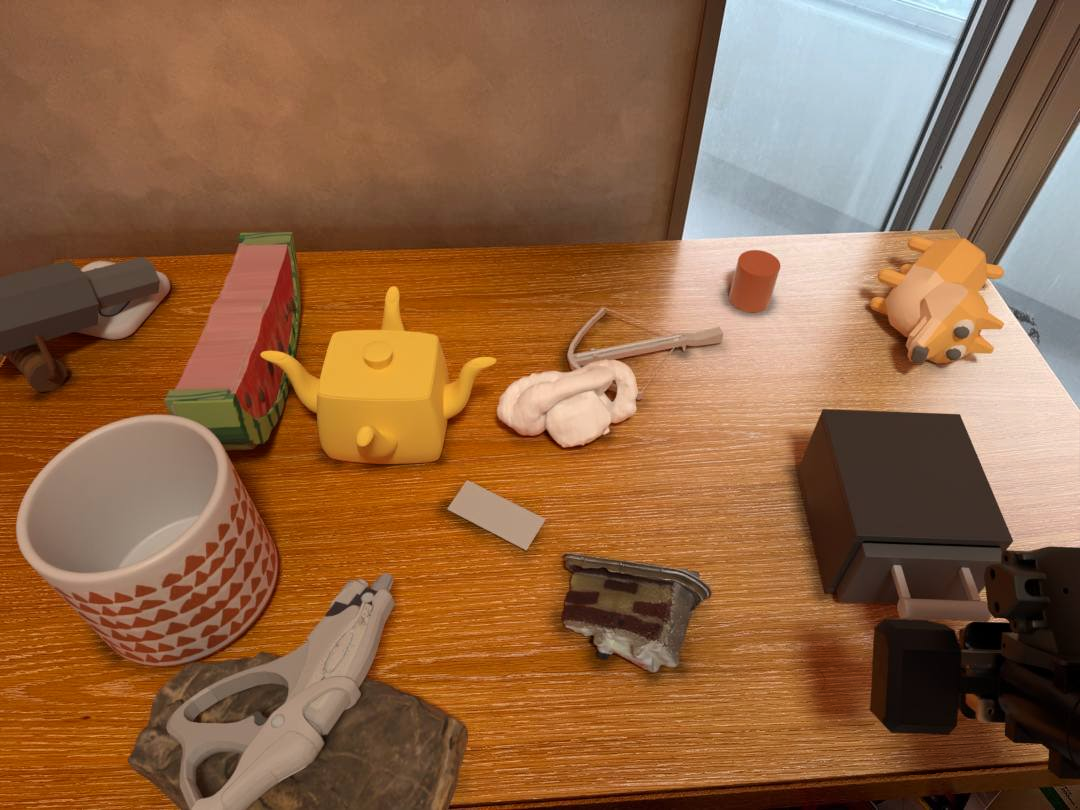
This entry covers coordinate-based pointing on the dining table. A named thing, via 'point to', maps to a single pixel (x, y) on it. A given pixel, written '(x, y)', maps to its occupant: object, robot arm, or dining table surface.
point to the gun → (309, 711)
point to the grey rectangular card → (496, 514)
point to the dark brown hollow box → (894, 486)
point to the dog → (940, 300)
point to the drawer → (921, 579)
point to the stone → (341, 765)
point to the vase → (150, 539)
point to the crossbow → (637, 346)
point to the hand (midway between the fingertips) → (964, 636)
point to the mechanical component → (62, 309)
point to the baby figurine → (570, 402)
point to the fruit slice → (244, 346)
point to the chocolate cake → (632, 607)
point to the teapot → (382, 392)
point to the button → (124, 310)
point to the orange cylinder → (754, 280)
